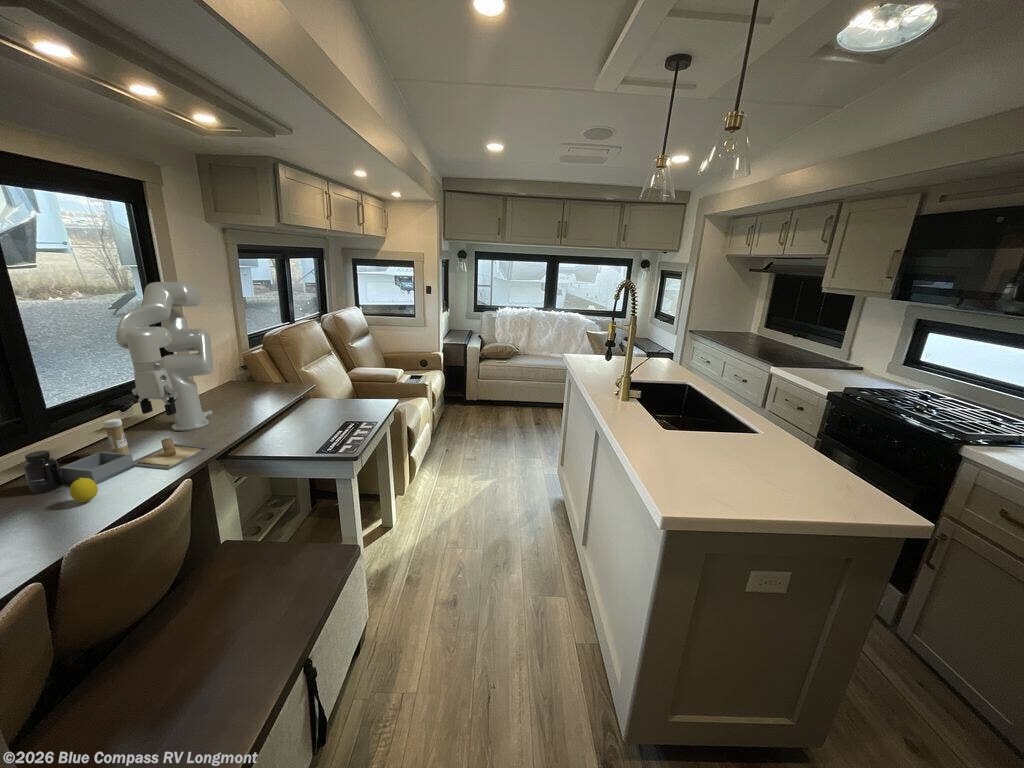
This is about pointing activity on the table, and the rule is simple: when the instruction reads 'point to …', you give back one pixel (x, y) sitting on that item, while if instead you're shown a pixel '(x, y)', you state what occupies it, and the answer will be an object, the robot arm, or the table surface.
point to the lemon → (83, 490)
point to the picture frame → (174, 464)
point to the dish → (97, 467)
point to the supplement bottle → (42, 472)
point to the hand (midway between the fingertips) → (159, 413)
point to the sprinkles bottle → (116, 436)
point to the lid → (169, 454)
